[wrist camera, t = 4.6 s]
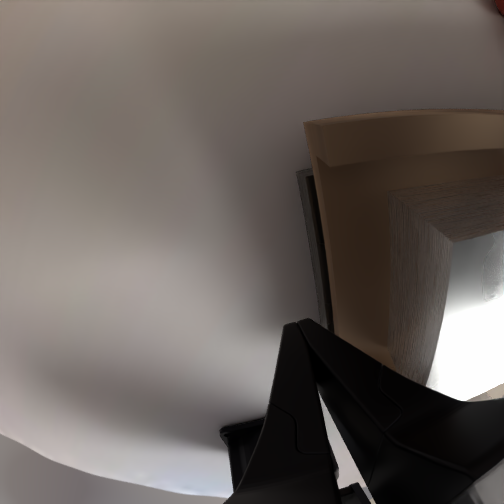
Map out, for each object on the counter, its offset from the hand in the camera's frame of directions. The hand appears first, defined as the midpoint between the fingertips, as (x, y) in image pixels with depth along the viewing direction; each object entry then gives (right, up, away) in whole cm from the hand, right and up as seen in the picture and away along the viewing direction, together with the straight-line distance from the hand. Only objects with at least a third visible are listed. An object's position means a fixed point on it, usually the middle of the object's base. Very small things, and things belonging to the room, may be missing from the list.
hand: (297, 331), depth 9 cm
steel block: (+7, +2, 0) cm, 7 cm away
